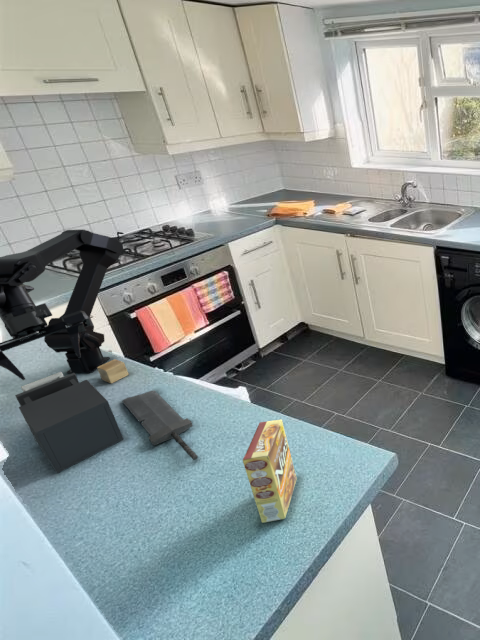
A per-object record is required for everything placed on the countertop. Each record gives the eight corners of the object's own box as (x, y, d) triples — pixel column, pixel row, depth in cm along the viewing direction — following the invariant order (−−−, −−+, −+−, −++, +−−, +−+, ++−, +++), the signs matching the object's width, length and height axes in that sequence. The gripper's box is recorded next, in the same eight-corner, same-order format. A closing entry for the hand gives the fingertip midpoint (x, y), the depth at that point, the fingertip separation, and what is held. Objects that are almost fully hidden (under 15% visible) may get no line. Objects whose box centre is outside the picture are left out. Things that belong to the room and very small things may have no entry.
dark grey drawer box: (39, 446, 91) (18, 407, 87) (103, 416, 99) (86, 379, 95) (57, 473, 84) (35, 432, 80) (123, 439, 93) (107, 400, 89)
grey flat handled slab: (156, 390, 109) (154, 383, 108) (216, 450, 90) (213, 443, 89) (120, 405, 103) (117, 398, 102) (175, 473, 84) (172, 465, 83)
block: (102, 379, 111) (96, 367, 110) (119, 371, 114) (114, 358, 113) (111, 383, 110) (106, 371, 108) (129, 374, 113) (124, 362, 112)
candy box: (286, 519, 76) (269, 455, 70) (260, 524, 75) (241, 460, 69) (297, 478, 84) (283, 418, 78) (274, 482, 83) (258, 421, 77)
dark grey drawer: (26, 418, 97) (9, 387, 93) (81, 395, 104) (67, 366, 101) (46, 449, 89) (29, 416, 85) (104, 421, 96) (90, 390, 93)
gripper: (-58, 319, 84) (-18, 385, 84) (68, 281, 98) (103, 338, 98) (-41, 333, 92) (-5, 394, 92) (73, 297, 106) (106, 350, 105)
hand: (52, 368), depth 96 cm, fingers open, 9 cm apart
